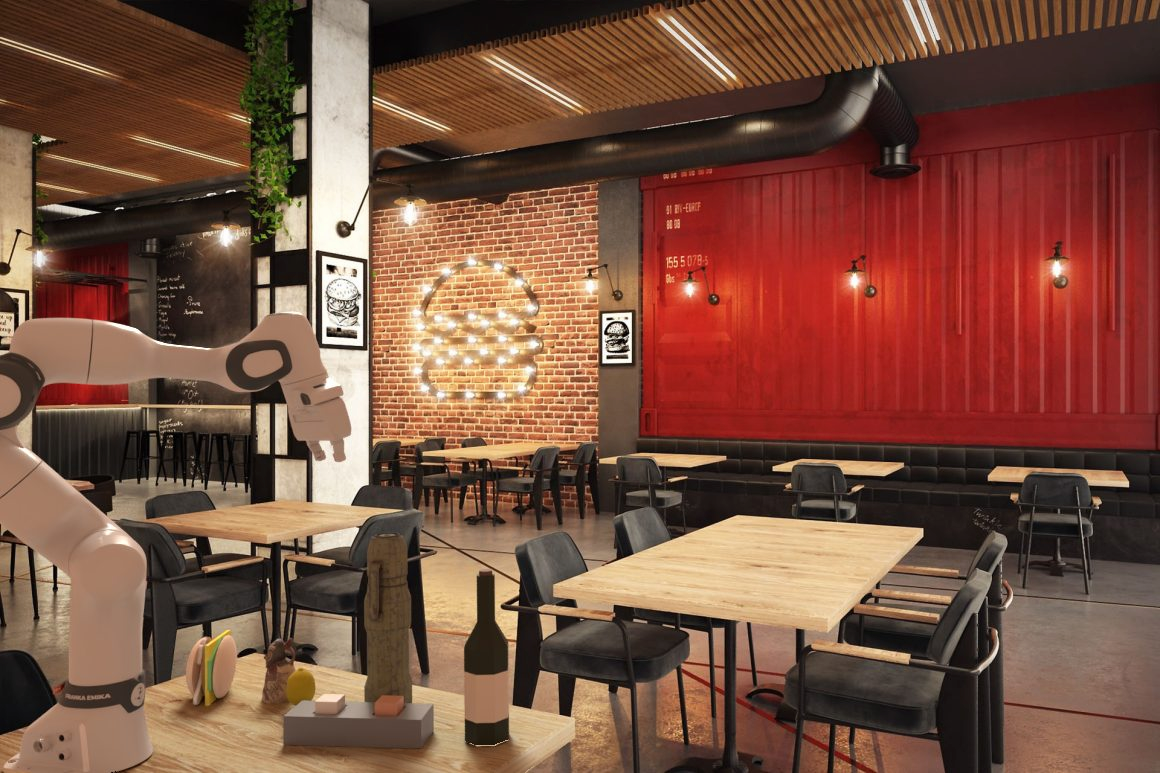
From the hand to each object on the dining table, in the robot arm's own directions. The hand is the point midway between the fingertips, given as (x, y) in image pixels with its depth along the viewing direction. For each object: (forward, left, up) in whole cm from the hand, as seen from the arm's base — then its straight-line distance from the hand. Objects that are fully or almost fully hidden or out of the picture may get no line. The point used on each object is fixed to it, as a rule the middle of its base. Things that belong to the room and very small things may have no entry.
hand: (330, 460), depth 168 cm
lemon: (-8, +3, -49) cm, 50 cm away
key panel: (+9, -11, -49) cm, 51 cm away
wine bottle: (+32, -9, -49) cm, 60 cm away
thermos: (+11, -1, -49) cm, 51 cm away
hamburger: (-30, +9, -49) cm, 58 cm away
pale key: (+4, -11, -46) cm, 47 cm away
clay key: (+15, -11, -46) cm, 49 cm away
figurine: (-15, +9, -49) cm, 52 cm away
